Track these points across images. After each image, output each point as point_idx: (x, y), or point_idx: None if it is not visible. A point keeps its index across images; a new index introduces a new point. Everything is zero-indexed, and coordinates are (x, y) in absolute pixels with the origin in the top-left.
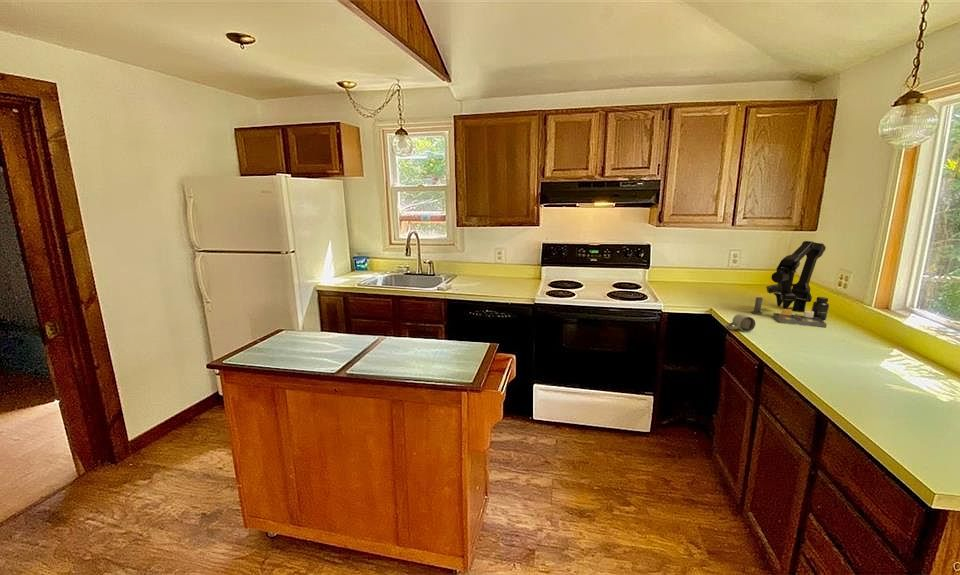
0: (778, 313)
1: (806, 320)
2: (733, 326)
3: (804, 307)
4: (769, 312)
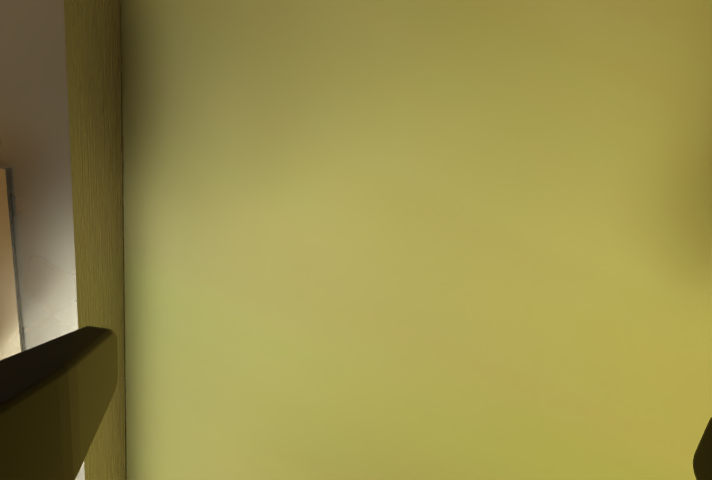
0: (59, 144)
1: None
2: None
3: None
4: (587, 93)
